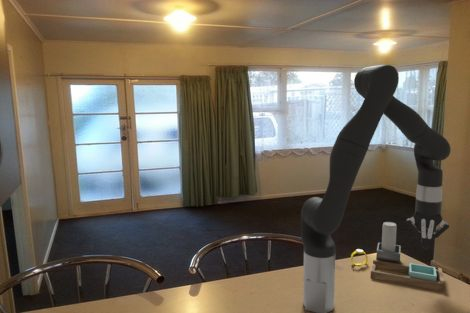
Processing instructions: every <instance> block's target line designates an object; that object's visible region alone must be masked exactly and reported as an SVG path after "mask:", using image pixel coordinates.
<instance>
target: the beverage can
mask: <svg viewBox="0 0 470 313" xmlns="http://www.w3.org/2000/svg"><path fill="white" fill-rule="evenodd" d="M397 227H398V226H397V224H396V223H395V222H392V221H385V222H383V224H382V230H381V231H382V232H381V243H382V249H381V250H382V251H389V252H395V246H396V245H397V230H398V229H397Z"/></svg>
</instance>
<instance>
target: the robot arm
mask: <svg viewBox="0 0 470 313" xmlns="http://www.w3.org/2000/svg"><path fill="white" fill-rule="evenodd" d="M399 76H400V75H399V73H398V70H397V68H396V67H395V66H393V65H391V64H379V65H373V66H372V65H371V66H367V67H364V68H361V69H360V70H358V72H357V73H355V76H354V79H353V82H354V83H353V85H354V88H355V91H356V93H358V94H359V95H360V96H361V97H362V98H363V99H364V100H363V102H362V103H361V106H360V107H359V109H358V111H357V112H356V113H355V114H354V115H353V116H352V118H351V119H349V120H348V122H347V123H345V125H344V126H343V128H342V129H341V130H340V131H339V133H338V134H337V136H336V140H335V142H334V144H333V145H332V149H331V151H330V156H329V180H328V185H327V188H326V191H325V193H324V195H323V197H319V196H314V197H310V198H308V199H307V200H306V201H305V202H304V203H303V205H302V207H301V213H300V234H301V241H302V245H303V285H302V288H303V290H302V291H303V292H302V296H303V297H302V302H303V303H302V304H303V306H304V310H305V311H308V312H313V313H330V312H331V311H333V310H334V308H335V284H336V283H335V280H336V277H335V276H336V274H335V273H336V242H334V240H333V237H332V234H333V233H335V232H336V231H337V230H338V228H339V227H340V225H341V222H342V220H343V217H344V214H345V211H346V209H347V208H346V207H347V204H348V201H349V197H350V194H351V191H352V188H353V186H354V184H355V181H356V178H357V176H358V173H359V171H360V168H361V167H362V165H363V162H364V160H365V157H366V155H367V152H368V150H369V147H370V144H371V142H372V141H373V137H374V135H375V133H376V131H377V128H378V126H379V123H380V121H381V119H382V118H383V115H384V116H386V118H388V120H390V121H391V122H392V123H393V124H394V125H395V127H397V128H398V130H399V131H400V132H401V133H402V134H403V135H404V136H405V137H406V139H407V140H408V141H409V142H411V143H413V144H414V146H413V155H414V160H415V164H416V169H417V185H416V191H415V210H414V213H413V215H412V216H411V217H410V218H409V217H408V218H406V224H407V225H408V226H409V227H410V229H411V230H412V231H413V233H414V234H415V235H416V236H419V237H420V238H421V240H420V245H421V247H422V249H424V250H429V248H431V247H432V239H437V238H439V237H440V236H441V235H442V234H444V233H445V232H446V231H447V230H448V229H449V228H450V225H449V222H447V221H444V220H443V216H442V207H443V203H442V202H443V169H442V168H440V167H439V166H437V165H435V163H434V161H435V162H436V161H438V162H439V161H444V160H446V159H447V158H449V156H450V154H451V152H452V150H451V149H452V148H451V144H450V143H449V141H448V140H447V139H446V138H445V137H444V136H443V135H442V134H440V133H439V132H437V131H436V130H434V129H433V128H432V127H430V126H429V125H428V124H427V122H426V121H425V120H424V118H422V116H421V115H420V114H419V113H418V112H417V111H416V110H414V109H413V108H411V107H410V106H408V105H407V104H405V103H404V102H403V101H401V100H399V99H398V98H397V97H395V96H394V94H395V93H396V91H397V87H398V86H399ZM415 223H417V225H418V226H419V227H420V228H421V229H420V230H421V231H420V230H419V228H418V227H417V226H416V225H415ZM438 225H439V227H438ZM437 227H438V228H437ZM435 228H437V229H436V230H435V231H434V229H435ZM426 231H427V232H426Z"/></svg>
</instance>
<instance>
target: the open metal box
mask: <svg viewBox="0 0 470 313" xmlns="http://www.w3.org/2000/svg"><path fill="white" fill-rule="evenodd" d="M401 248H402V247H401V245H398V244H396V246H395V252H389V251H382V250H381V249H382V242H378V243H377V246H376V258H375V260H378V261H385V262H391V263H397V264H401Z"/></svg>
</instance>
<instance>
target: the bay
mask: <svg viewBox="0 0 470 313" xmlns="http://www.w3.org/2000/svg"><path fill="white" fill-rule="evenodd" d="M376 269H382V270H383V269H384V270H387V271H388V270H389V271H394V272H400V273H406V274H409V264H403V263H400V264H397V263H391V262H385V261H378V260H376V259H373V260H372V266H371V270H370V279H376V280H381V281H385V282H391V283H396V284H402V285H408V286H413V287H417V288H418V287H419V288H423V289H428V290H429V289H430V290H434V291H439V292H444V291H445V290H444V286H445V279H444V273H443V269H442V267H437V269H436V275H437V280H438V281H437V280H436V281H431V280H425V279H419V278H414V277H409V275H408V276H407V275H401V274H395V273H391V272H390V273H389V272H386V271H385V272H383V271H378V270H376Z"/></svg>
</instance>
